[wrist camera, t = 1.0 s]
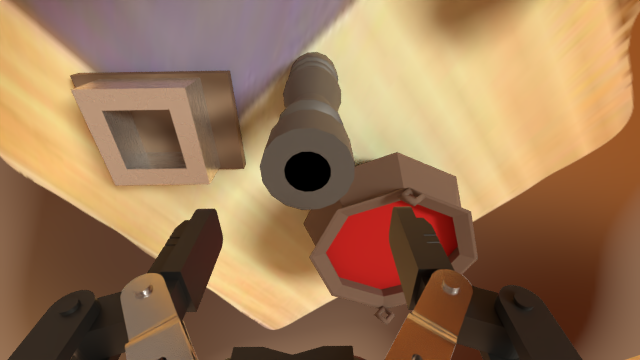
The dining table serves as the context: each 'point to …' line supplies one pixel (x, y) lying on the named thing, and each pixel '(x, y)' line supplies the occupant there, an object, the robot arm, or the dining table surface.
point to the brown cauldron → (385, 229)
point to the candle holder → (309, 139)
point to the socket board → (159, 123)
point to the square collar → (123, 137)
